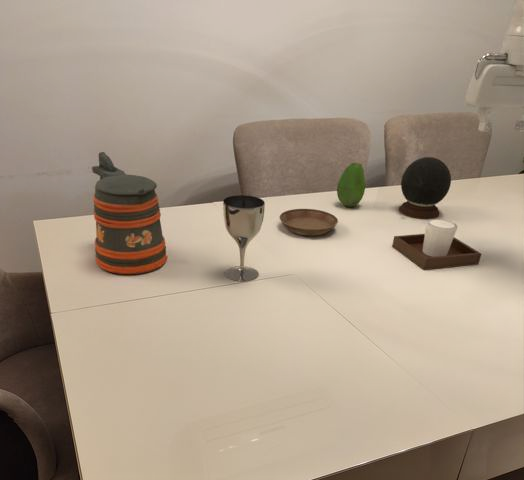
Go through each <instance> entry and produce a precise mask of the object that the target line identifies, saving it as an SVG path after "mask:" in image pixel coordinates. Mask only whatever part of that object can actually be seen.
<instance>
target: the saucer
mask: <svg viewBox="0 0 524 480" xmlns="http://www.w3.org/2000/svg"><path fill="white" fill-rule="evenodd" d="M279 220H280V222H281V224H282V225H283V227H285V228H286V229H287V230H288V231H290V232H292V233H294V234H297V235H301V236H309V237H311V236H312V237H313V236H314V237H315V236H321V235H325V234H327V233H328V232H331V230H333V229H334V228H335V227H336V225H338V223H339V218H337V217H336V216H335V215H334V214H332V213H330V212H327V211H324V210H320V209H314V208H294V209H289V210H286V211H283V212H282V213H281V214H280V215H279Z"/></svg>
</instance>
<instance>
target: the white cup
mask: <svg viewBox="0 0 524 480" xmlns="http://www.w3.org/2000/svg"><path fill="white" fill-rule="evenodd" d="M457 229H458V224H456V223H455V222H453V221H450V220H447V219H443V218H442V219H441V218H434V219H427V220H426V223H425V229H424V234H425V236H424V243H423V251H422V252H423V253H424V254H426V255H428V256H432V257H438V256H447V254H448V251H449V248H450V246H451V243H452V240H453V238H454V237H455V235H456V232H457Z"/></svg>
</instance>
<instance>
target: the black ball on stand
mask: <svg viewBox="0 0 524 480" xmlns="http://www.w3.org/2000/svg"><path fill="white" fill-rule="evenodd" d="M400 182H401V183H400V189H401V192H402V195H403V197H404V198H405V200H406V201H405V202H402V203H401V205H400V206H399V208H398V211H399V213H400V214H402V215H403V216H405V217H409V218H413V219H419V220H430V219H438V218H439V216H440V214H441V213H440V210H439V207H438V206H436V205H437V204H438V203H441V201H442V200H444V198H445V197H447V195H448V193H449V191H450V189H451V185H452V174H451V172H450V169H449V167H448V166H447V165H446V163H445V162H443V161H442V160H441V159H439V158H437V157H433V156H426V157H425V156H424V157H421V158H418V159H416V160H414V161H412V163H410V164H409V165H408V166H407V168H405V170H404V172H403V173H402V176H401V181H400Z"/></svg>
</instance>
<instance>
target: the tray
mask: <svg viewBox="0 0 524 480" xmlns="http://www.w3.org/2000/svg"><path fill="white" fill-rule="evenodd" d="M424 236H425V233H418V234H417V233H416V234H405V235H395V236H393V239H392V245H391V247H392V248H394V249H395V250H396V251H398V253H401V254H402V255H403V256H404V257H406V258H407V259H408V260H409V261H411V262H412V263H414V264H415V265H416V266H418V267H419V268H421V269H422V270H423V271H426V270H427V271H429V270H436V269H444V268H445V269H447V268H455V267H465V266H476V265H479V264H480V260H481V258H482V252H480V251H478V250H476V249H475V248H473V247H471V246H470V245H468V244H467V243H465V242H464V241H462V240H460V239H458V238H456V237H455V236H454V238H453V240H452V243H451V246H450V248H449V251H448V254H447V256H438V257H432V256H428V255H426V254H424V253H423V252H422V251H423V243H424Z"/></svg>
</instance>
